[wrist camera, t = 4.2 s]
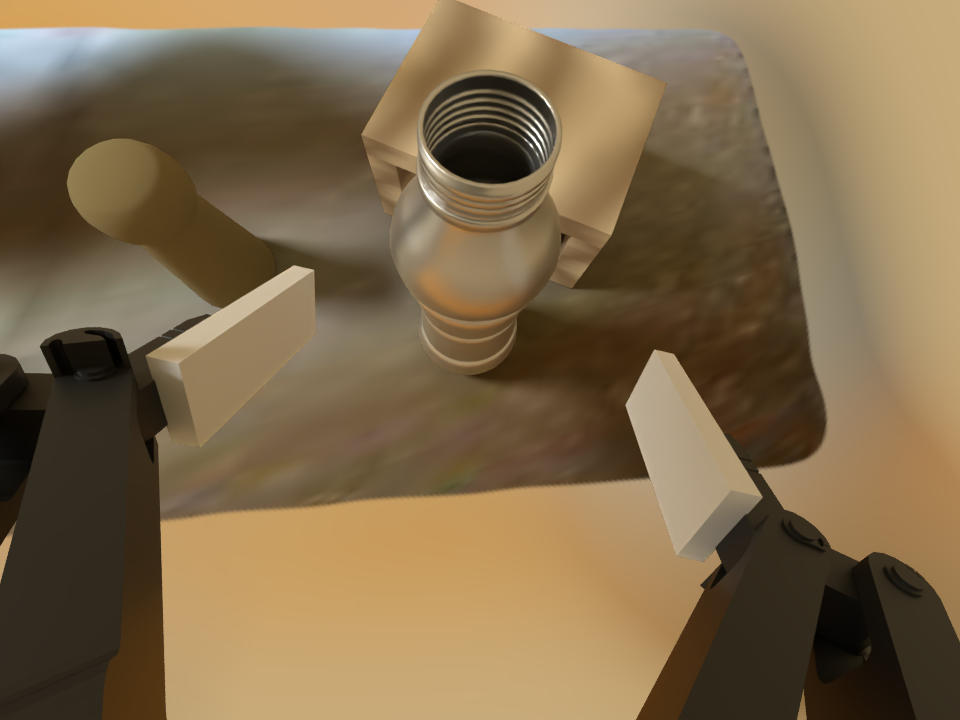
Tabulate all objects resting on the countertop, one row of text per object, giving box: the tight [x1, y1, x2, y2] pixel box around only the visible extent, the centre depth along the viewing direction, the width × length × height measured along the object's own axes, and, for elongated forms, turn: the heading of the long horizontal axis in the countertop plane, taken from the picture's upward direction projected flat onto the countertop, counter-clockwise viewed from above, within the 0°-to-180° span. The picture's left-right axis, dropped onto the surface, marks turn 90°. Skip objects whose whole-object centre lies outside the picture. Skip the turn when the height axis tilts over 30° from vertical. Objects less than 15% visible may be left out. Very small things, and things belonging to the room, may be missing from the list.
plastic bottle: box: [389, 70, 562, 375], centre depth 20 cm, size 6×7×20 cm
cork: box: [67, 139, 276, 308], centre depth 24 cm, size 6×6×11 cm
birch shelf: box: [361, 0, 667, 289], centre depth 28 cm, size 16×12×8 cm
